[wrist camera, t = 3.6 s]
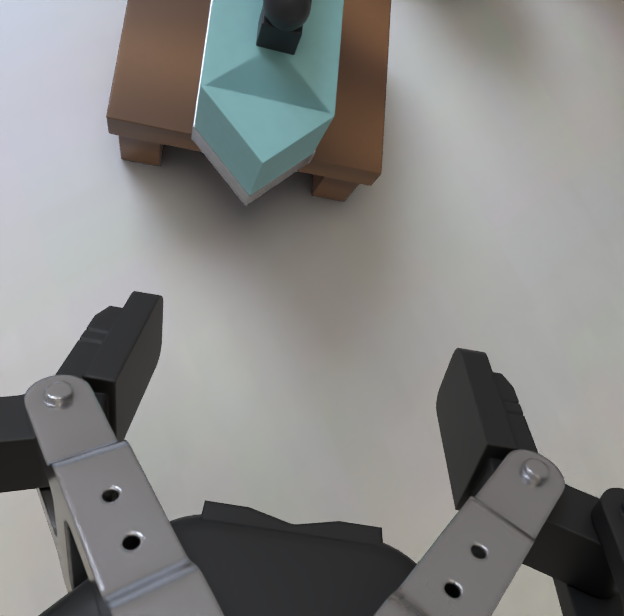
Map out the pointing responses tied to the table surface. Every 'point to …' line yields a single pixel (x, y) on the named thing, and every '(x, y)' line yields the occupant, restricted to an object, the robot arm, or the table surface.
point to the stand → (185, 78)
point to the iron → (266, 88)
